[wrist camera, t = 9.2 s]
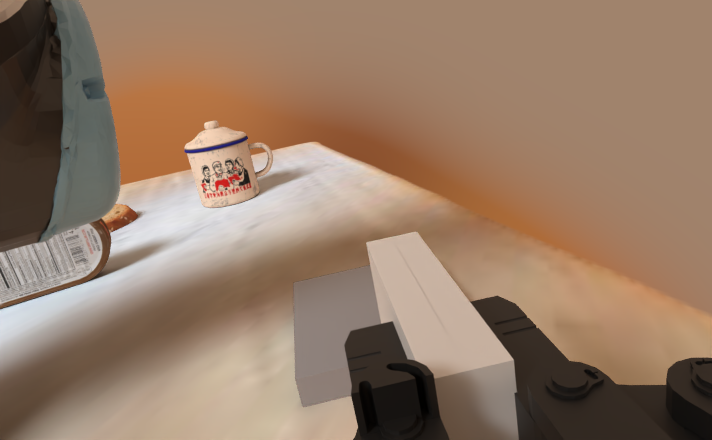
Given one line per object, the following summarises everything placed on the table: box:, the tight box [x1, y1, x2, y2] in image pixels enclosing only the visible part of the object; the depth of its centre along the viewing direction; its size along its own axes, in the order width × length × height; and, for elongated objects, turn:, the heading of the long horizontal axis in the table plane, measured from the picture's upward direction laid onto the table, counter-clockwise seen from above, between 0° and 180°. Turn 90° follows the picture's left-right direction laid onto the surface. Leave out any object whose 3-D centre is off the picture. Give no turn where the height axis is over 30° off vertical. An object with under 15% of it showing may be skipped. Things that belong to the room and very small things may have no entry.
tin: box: [0, 218, 111, 309], centre depth 48 cm, size 15×3×8 cm, turn 117°
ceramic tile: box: [293, 265, 381, 407], centre depth 31 cm, size 2×10×12 cm
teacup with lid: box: [185, 121, 273, 208], centre depth 73 cm, size 12×9×12 cm
